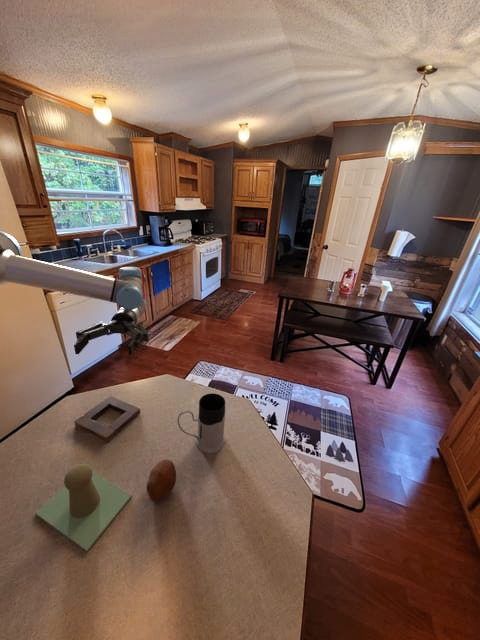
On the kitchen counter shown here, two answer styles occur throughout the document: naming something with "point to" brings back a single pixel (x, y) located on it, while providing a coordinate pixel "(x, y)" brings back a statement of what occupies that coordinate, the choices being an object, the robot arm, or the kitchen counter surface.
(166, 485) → the potato
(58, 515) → the mat
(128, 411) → the frame
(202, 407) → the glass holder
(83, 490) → the cork
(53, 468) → the kitchen counter surface
